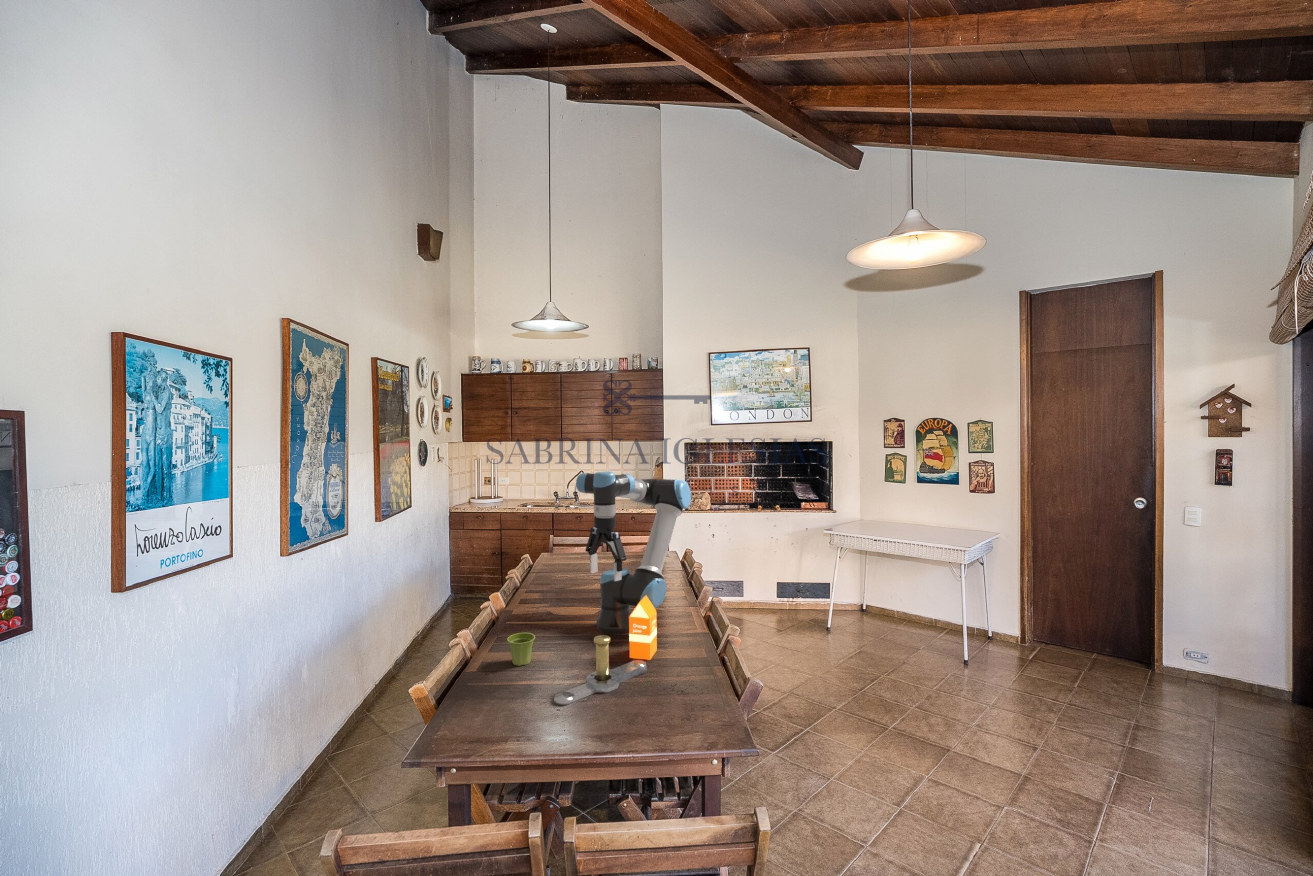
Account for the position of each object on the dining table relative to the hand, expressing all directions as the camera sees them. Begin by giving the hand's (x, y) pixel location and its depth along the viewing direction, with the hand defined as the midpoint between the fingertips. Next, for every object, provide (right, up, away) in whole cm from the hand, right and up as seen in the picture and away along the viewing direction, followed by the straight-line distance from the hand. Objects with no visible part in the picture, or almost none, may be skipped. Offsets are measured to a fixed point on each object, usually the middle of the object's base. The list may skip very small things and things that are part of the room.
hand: (605, 576), depth 206 cm
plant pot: (-29, -29, -2) cm, 41 cm away
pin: (+1, -30, -20) cm, 36 cm away
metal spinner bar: (+1, -30, -20) cm, 36 cm away
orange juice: (+13, -29, +4) cm, 32 cm away
